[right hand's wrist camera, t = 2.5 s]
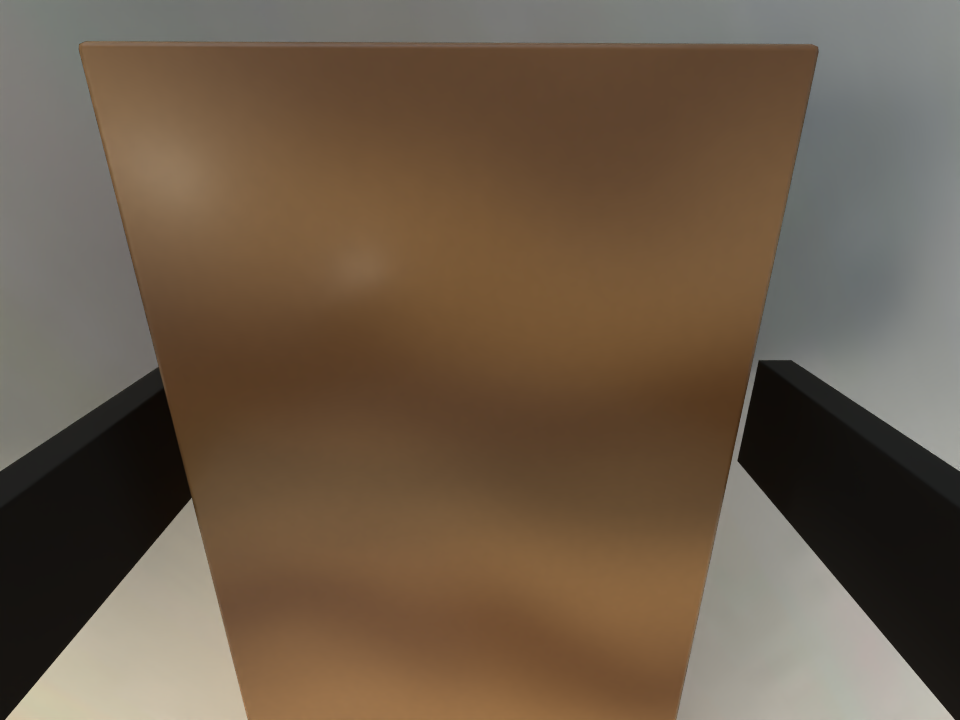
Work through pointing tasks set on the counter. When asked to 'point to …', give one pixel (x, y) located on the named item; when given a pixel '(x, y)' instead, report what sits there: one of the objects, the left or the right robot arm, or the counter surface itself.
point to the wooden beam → (454, 350)
